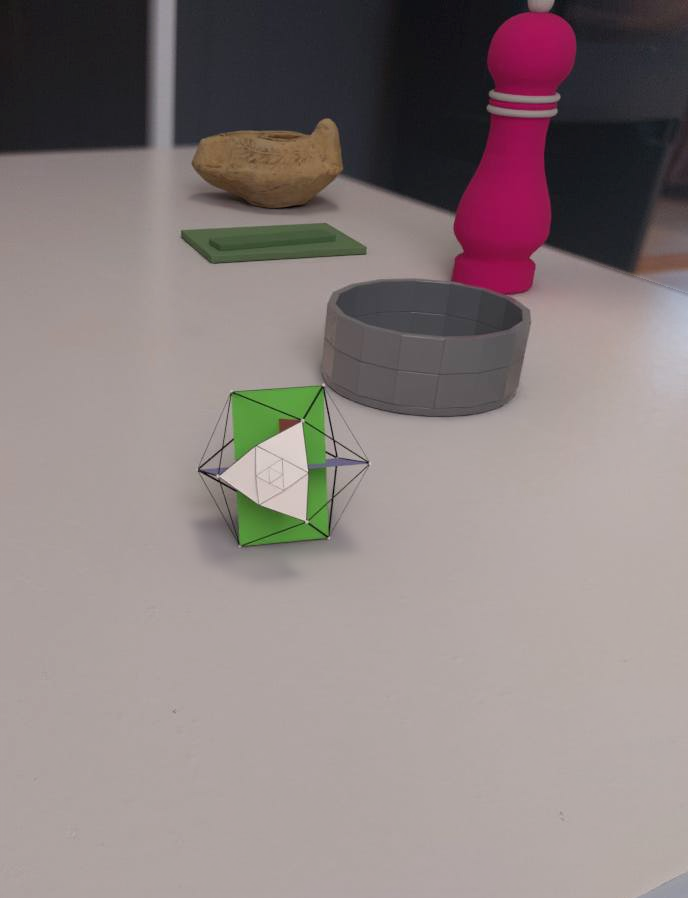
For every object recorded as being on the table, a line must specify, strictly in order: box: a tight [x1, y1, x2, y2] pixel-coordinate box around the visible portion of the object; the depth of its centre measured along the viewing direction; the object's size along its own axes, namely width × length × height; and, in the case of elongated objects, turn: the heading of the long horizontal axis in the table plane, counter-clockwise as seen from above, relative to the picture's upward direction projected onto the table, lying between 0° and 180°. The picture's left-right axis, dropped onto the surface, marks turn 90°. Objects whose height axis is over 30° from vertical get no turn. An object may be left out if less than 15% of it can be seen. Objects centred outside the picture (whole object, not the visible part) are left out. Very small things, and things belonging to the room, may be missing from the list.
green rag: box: [180, 222, 368, 264], centre depth 90 cm, size 14×9×1 cm, turn 107°
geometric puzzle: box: [195, 383, 373, 549], centre depth 45 cm, size 7×7×8 cm
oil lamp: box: [191, 118, 344, 209], centre depth 102 cm, size 11×15×8 cm
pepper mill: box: [451, 0, 577, 295], centre depth 76 cm, size 7×7×20 cm
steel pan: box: [321, 277, 532, 417], centre depth 62 cm, size 12×12×4 cm
